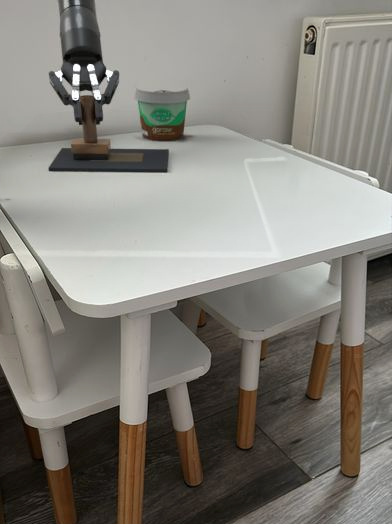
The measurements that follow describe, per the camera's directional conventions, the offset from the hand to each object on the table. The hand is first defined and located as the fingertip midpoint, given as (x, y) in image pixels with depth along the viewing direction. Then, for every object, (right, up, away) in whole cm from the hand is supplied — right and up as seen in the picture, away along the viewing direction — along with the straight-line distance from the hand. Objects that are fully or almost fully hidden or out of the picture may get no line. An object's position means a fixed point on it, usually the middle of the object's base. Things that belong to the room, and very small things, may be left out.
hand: (89, 122), depth 104 cm
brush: (0, -5, +6) cm, 7 cm away
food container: (+13, +5, +21) cm, 25 cm away
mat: (+3, -5, +6) cm, 9 cm away
